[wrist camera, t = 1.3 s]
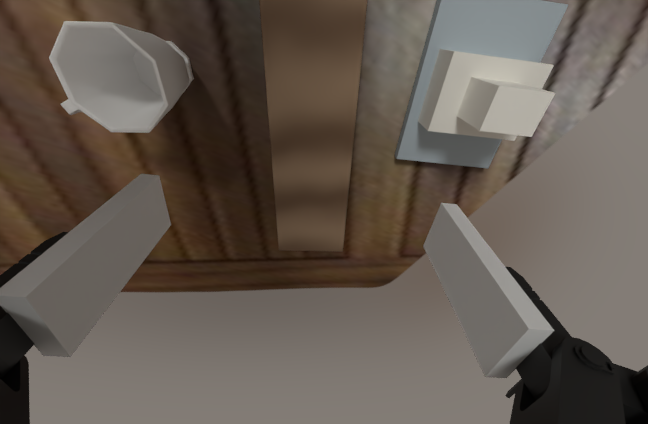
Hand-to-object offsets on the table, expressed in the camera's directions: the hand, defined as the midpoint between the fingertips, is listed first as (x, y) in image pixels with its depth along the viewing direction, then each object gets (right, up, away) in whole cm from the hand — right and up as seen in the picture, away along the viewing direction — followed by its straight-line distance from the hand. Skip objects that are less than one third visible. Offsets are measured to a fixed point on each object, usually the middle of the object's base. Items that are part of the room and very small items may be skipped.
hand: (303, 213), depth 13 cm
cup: (-14, +13, +12) cm, 22 cm away
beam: (0, +10, +14) cm, 17 cm away
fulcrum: (+14, +11, +12) cm, 22 cm away
